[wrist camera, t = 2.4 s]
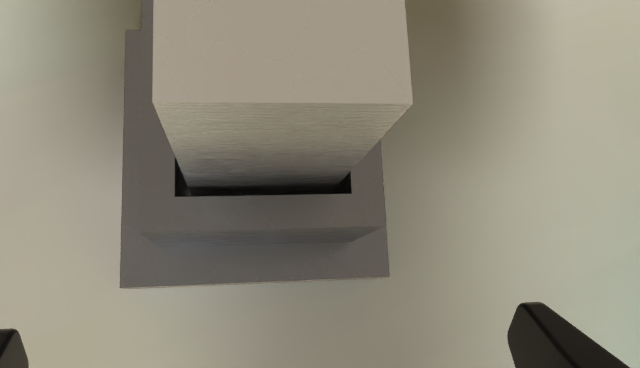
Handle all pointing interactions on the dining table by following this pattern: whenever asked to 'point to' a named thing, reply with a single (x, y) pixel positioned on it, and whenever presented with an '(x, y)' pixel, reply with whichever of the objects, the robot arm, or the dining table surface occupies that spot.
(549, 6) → the dining table surface
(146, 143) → the stand base
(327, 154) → the column
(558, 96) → the dining table surface
